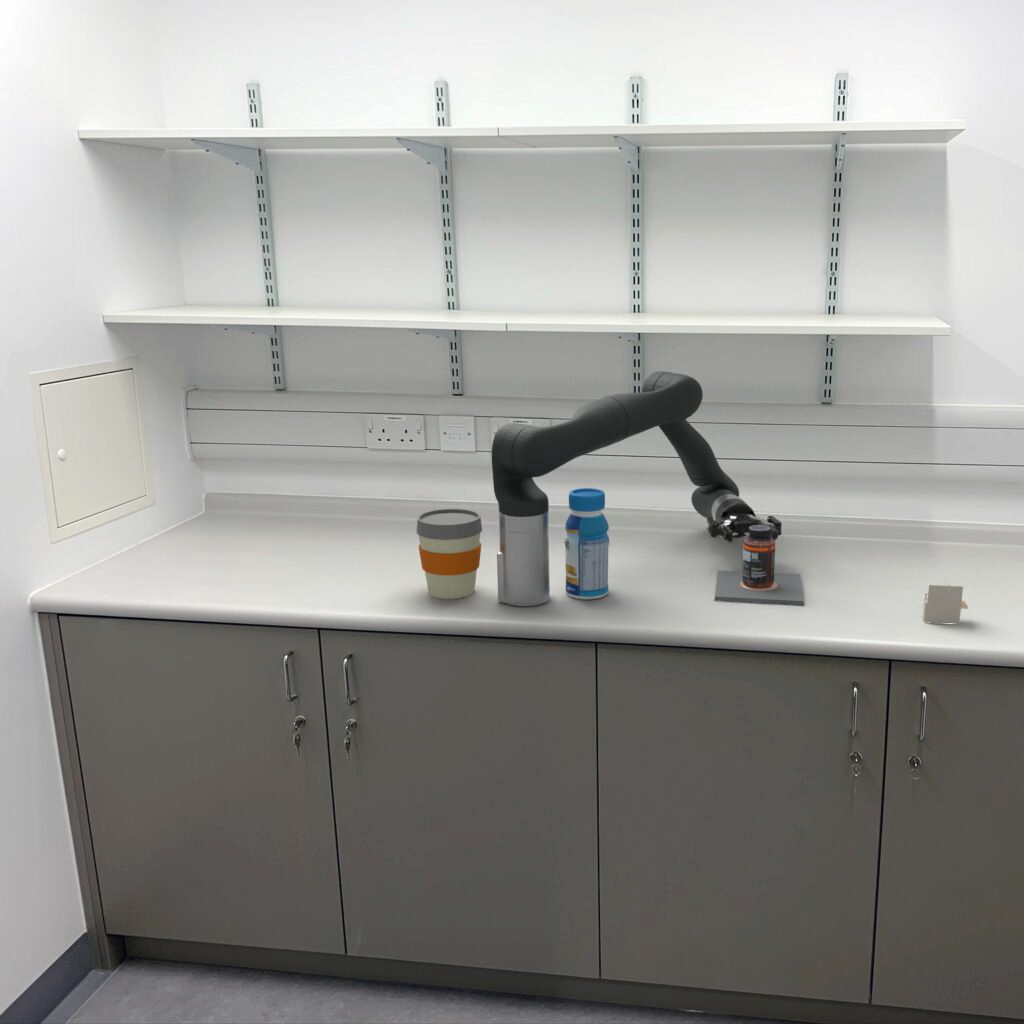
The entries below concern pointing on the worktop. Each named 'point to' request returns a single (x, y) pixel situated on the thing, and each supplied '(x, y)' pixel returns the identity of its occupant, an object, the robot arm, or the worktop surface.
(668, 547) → the worktop surface
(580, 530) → the beverage bottle
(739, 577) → the mat
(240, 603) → the worktop surface
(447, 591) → the reusable coffee cup
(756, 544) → the supplement bottle
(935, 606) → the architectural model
